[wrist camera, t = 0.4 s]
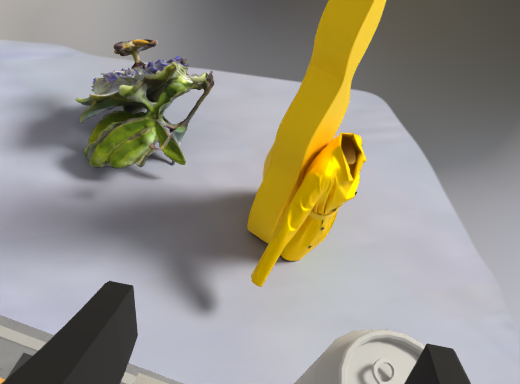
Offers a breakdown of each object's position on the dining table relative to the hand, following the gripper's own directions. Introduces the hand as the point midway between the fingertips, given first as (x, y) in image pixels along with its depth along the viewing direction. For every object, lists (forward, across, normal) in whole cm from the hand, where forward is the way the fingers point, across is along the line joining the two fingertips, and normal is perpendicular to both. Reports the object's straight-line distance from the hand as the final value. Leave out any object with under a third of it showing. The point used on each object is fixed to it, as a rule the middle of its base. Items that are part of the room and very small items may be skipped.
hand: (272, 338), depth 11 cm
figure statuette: (+24, 0, +18) cm, 30 cm away
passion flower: (+29, +14, +14) cm, 36 cm away
